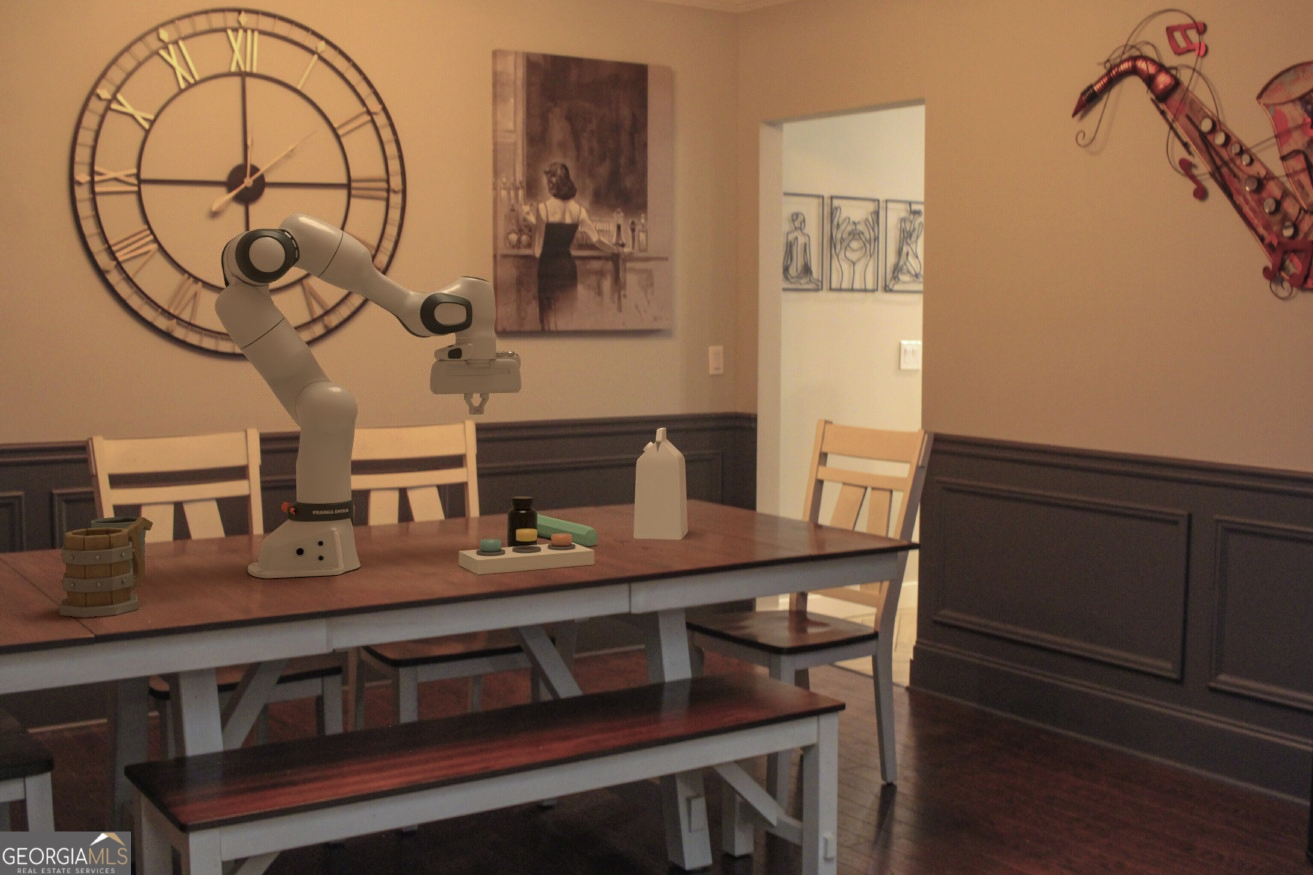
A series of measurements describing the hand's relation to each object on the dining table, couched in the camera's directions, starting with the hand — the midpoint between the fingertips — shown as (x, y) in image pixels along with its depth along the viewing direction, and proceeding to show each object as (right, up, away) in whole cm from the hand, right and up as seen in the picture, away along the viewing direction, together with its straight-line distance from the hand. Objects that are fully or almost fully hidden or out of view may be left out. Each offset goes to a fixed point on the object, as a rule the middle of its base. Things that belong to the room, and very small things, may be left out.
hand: (476, 414), depth 281 cm
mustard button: (+12, -27, -11) cm, 31 cm away
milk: (+41, -29, +30) cm, 59 cm away
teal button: (+5, -29, -14) cm, 32 cm away
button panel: (+12, -32, -10) cm, 36 cm away
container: (+17, -30, +22) cm, 41 cm away
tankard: (-58, -36, -51) cm, 85 cm away
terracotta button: (+19, -28, -7) cm, 35 cm away
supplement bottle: (+9, -31, +9) cm, 33 cm away
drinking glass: (-67, -34, -27) cm, 80 cm away
